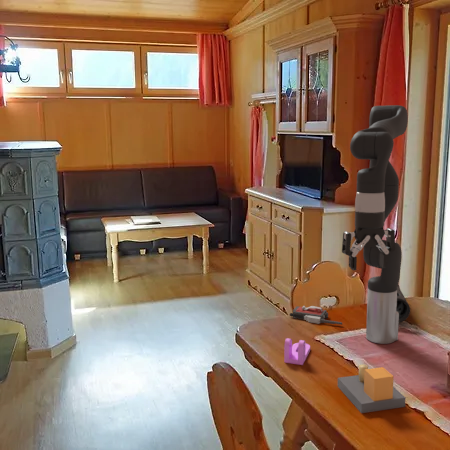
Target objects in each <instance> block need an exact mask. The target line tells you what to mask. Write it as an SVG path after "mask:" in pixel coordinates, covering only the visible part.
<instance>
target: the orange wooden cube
mask: <svg viewBox="0 0 450 450" xmlns="http://www.w3.org/2000/svg"><path fill="white" fill-rule="evenodd" d="M393 387H394V375H393V374H392V373H390V372H389V371H388V370H387V369H386V368H385V367H383V366H382V367H373V368H368V369H365V370H364V392H365V393H366V394H367V395H368V396H369V397H370V398H371V399H372V400H373V401H379V400H385V399H392V398H393Z"/></svg>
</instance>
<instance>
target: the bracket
mask: <svg viewBox="0 0 450 450" xmlns="http://www.w3.org/2000/svg"><path fill="white" fill-rule="evenodd" d="M283 345H284V349H283V351H284V353H283V354H284V359H283V361H284V363H287V364H292V365H293V364H294V365H301V366H304V363H305V361H306V360H307V358H308V357H309V353H310V351H311V345H310V344H309V343H306V340H302V339H299V340H298V342H296V343H293V340H292V338H288V337H287V338H286V337H285V340H284V344H283Z"/></svg>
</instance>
